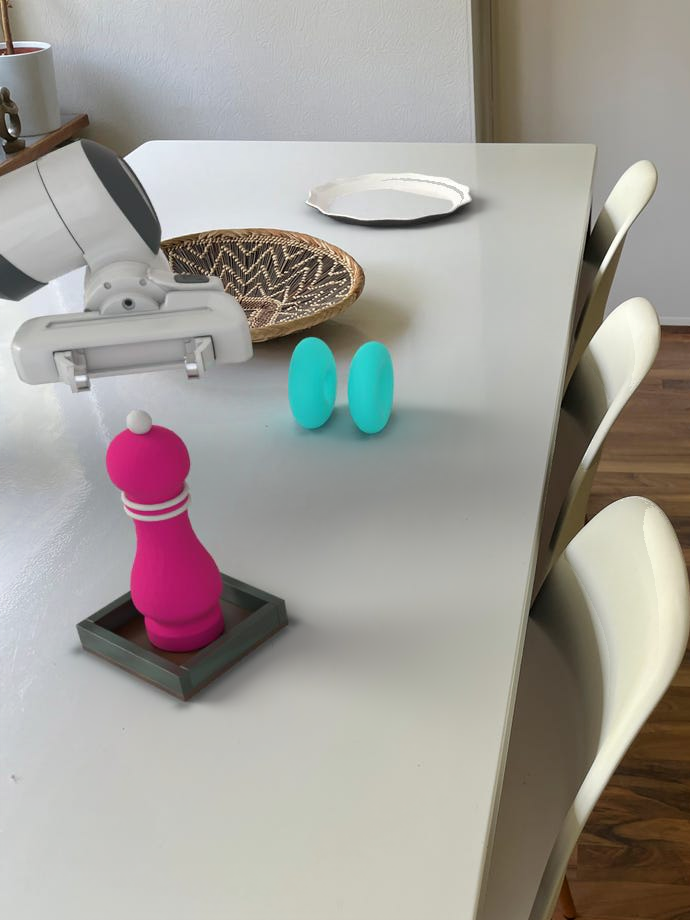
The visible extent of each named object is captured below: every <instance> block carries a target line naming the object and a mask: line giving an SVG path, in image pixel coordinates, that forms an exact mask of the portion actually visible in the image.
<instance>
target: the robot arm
mask: <svg viewBox="0 0 690 920" xmlns="http://www.w3.org/2000/svg"><path fill="white" fill-rule="evenodd" d="M162 234H163V233H162V226H161V222H160V220H159V217H158V214H157V211H156V209H155V208H154V205H153V202H152V200H151V198H150V197H149V194H148V193H147V191H146V189H145V187H144V186H143V184H142V182H141V181H140V179H139V177H138V176H137V174H136V172H135V171H134V170H133V168H132V167H131V166H130V164H129V163H128V162H127V161H126V160H125V159H124V158H123V157H122V156H121V154H119V153H117V152H115V151H113V150H112V149H111V148H109V147H107V146H105V145H103V144H101V143H98V142H96V141H93V140H91V139H86V138H80V140H77V141H74V142H72V143H69V144H67V145H65V146H63V147H60V148H58V149H56V150H54V151H51V152H49V153H47V154H44V155H42V156H40V157H37V159H36V160H34V161H31V162H30V163H28V164H25V165H23V166H21V167H18V168H16V169H15V170H12V171H10V172H8V173H5V174H3V175H1V176H0V299H1V300H6V301H11V302H20V301H22V300H24V299H25V298H28V297H29V296H31V295H32V294H34V293H35V292H37V291H39V290H41V289H43V288H45V287H46V286H47V285H49V283H50V282H52V281H54V280H56V279H59V278H61V277H63V276H65V275H67V274H70V273H72V272H75V271H77V270H78V269H81V268H83V267H85V269H84V277H83V290H84V293H83V302H82V303H83V304H82V305H83V309H82V311H81V312H71V313H61V314H50V315H43V316H42V315H41V316H36V317H31V318H30V319H27V320H25V321H24V322H23V323H22V324H21V325H20V326H19V327H18V329H17V331H16V332H15V333H14V335H13V338H12V340H11V342H10V343H11V344H10V352H11V357H12V360H13V364H14V367H15V370H16V373H17V376H18V379H19V380H20V381H21V382H23V383H25V384H27V385H30V386H38V385H45V384H46V385H48V384H55V383H63V384H65V385H68V386H69V387H70V390H71V393H72V394H78V393H82V392H83V393H85V392H91V390H92V389H91V387H92V384H91V383H92V382H91V380H92V379H93V380H94V379H100V378H101V379H102V378H109V377H117V376H118V377H119V376H127V375H135V374H137V375H138V374H145V373H157V372H165V371H175V370H183V369H185V370H186V376H187V380H188V381H190V380H200V379H206V374H205V372H206V371H208V370H209V369H211V368H212V367H214V366H217V365H226V364H227V365H229V364H236V363H244V362H246V361H248V360H250V359H251V358H252V357H253V355H254V351H253V341H252V336H251V335H252V334H251V329H250V323H249V319H248V317H247V315H246V313H245V310H244V309H243V307H242V306H241V304H240V302H239V301H238V300H237V299H236V298H235V296H233V295H232V294H230V293H228V292H226V291H225V287H224V284H223V281H222V279H221V278H220V277H219V276H215V275H204V274H190V273H189V274H187V273H178V272H173V269H172V266H171V264H170V262H169V260H168V258H167V256H166V254H165V253H164V251H163V250H162V248H161V242H162Z"/></svg>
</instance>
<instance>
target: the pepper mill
mask: <svg viewBox="0 0 690 920" xmlns="http://www.w3.org/2000/svg"><path fill="white" fill-rule="evenodd" d="M125 422H126V426H127V428H125V429H124V430H122V431H121V432H120V433H118V434H117V435H116V436H114V437H113V439H112V440H111V441H110V443H109V444H108V446H107V449H106V453H105V454H106V455H105V467H106V472H107V474H108V477H109V480H110V481H111V482H112V484H113V485H114V486H115V487H117V489H118V490H120V491H121V493H120V499H121V501H122V503H123V510H124V512H125V514H126V515H127V516H128V517H130V518H131V519H132V521H133V524H134V527H135V535H136V550H135V555H134V560H133V563H132V567H131V571H130V582H129V584H130V585H129V589H130V590H131V595H132V600H133V603H134V605H135V607H136V608H137V609H138V611H139V612H140V613H142V614H143V615H144V616H145V625H146V629H147V633H148V637H149V640H150V641H151V642H152V643H153V644H154V645H155V646H156V647H158V648H160V649H162V650H166V651H171V652H187V651H193V650H196V649H199V648H202V647H204V646H206V645H208V644H210V643H212V642H213V641H214V640H215V639H217V638H218V637H219V635H220V634H221V632H222V630H223V628H224V619H223V614H222V609H221V605H220V603H219V602H218V600H219V599H220V596H221V594H222V591H223V583H222V578H221V575H220V572H221V571H220V569H219V567H218V565H217V563H216V561H215V559H214V558H213V556H212V555H211V553H210V552H209V551H208V550H207V549H206V547H205V546H204V545H203V544H202V542H201V541H200V539H199V538H198V537H197V534H196V533H195V531H194V529H193V526H192V523H191V519H190V517H189V512H188V511H189V510H188V508H189V507H190V506H191V503H192V496H191V494H190V486H189V483H188V482H187V481H186V479H187V478H188V477H189V473H190V470H191V458H190V453H189V451H188V447H187V445H186V444H185V442H184V440H183V439H182V438H181V437H180V436H179V435H178V434H177V433H176V432H174V430H171V429H169V428H168V427H165V426H161V425H158V424H153V420H152V416H151V415H150V414H149V413H148V412H147V411H145V410H143V409H134V410H132V411H130V412H129V413H128V414H127V417H126V420H125Z"/></svg>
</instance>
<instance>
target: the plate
mask: <svg viewBox="0 0 690 920" xmlns="http://www.w3.org/2000/svg"><path fill="white" fill-rule="evenodd" d="M392 178H394V179H395V178H397V179H400V178H405V179H406V178H411V179H420V180H429V181H435V182H441V183H445V184H447V185H451V186H454V187H456V188H457V189H459V190H460V191H462V192H463V194H464V195H463V196H464V199H463V200H462V198H461V196H460V194H459V193H457V192H456V191H454V190H453V189H450V188H447V187H445V186H442V185H437V184H432V183H427V182H418V181H403V180H387V181H381V180H386V179H392ZM388 189H389V190H394V191H398V192H399V191H400V192H403V193H404V192H405V193H408V194H415V195H420V196H426V197H430V198H436V199H441V200H445V201H446V200H447V201H451V204H452V207H451V209H449V210H447V211H441V212H433V213H426V214H423V215H419V216H415V217H407V218H405V217H403V218H402V217H378V218H363V217H356V216H352V215H348V214H339V213H331V212H329V209H328V206H329V205H330V204H331V202H333V201H335V200H336V199H338V198H341V197H343V196H346V195H349V194H355V193H359V192H365V191H373V190H388ZM471 191H472V189H471V188H470V187H469V186H467V185H464V184H461V183H458V182H456V181H455V180H452V179H451V178H449V177H445V176H444V177H443V176H434V175H426V174H422V173H416V172H415V173H414V172H399V173H397V172H396V173H377V172H376V173H367V174H362V175H355V176H351V177H342V178H341V177H340V178H336V179H333V180H330V181H329V182H327V183H325V184H323V185H319V186H317V187H314V188H311V189H310V190H309V191H308V193H309V196H308V198H307V199H306V201H305V204H306V205H307V206H309V207H311V208H312V209H313V208H314V209H315V210H318V211H319V212H320V213H321V214H322V215H324V216H325V217H326V216H327V217H328V218H331V219H333V220H335V221H338V222H341V223H345V224H350V225H356V226H364V227H365V226H366V227H385V228H386V227H387V228H388V227H390V228H391V227H406V226H413V225H421V224H426V223H430V222H435V221H438V220H441V219H443V218H447V217H448V216H450V215H452V214H454V213H455V212H457V211H458V210H461V209H462V208H464V207H465V206H467V205H470V204H471V203H472V202H473V199H472V198H473V197H472V196H471V195H470V194H471ZM461 200H462V202H461ZM460 202H461V203H460ZM461 207H462V208H461Z"/></svg>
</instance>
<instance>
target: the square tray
mask: <svg viewBox="0 0 690 920" xmlns="http://www.w3.org/2000/svg"><path fill="white" fill-rule="evenodd" d="M219 572H220V575H221V578H222V583H223V591H222V594H221V596H220V599H219V600H218V602H219V603H220V605H221V609H222V614H223V619H224V628H223V630H222V632H221V634H220V635H219V637H218V638H217V639H215V640H214V641H213V642H212V643H210V644H208V645H206V646H204V647H202V648H199V649H196V650H193V651H187V652H171V651H166V650H162V649H160V648H158V647H156V646H155V645H154V644H153V643H152V642H151V641H150V640H149V637H148V633H147V629H146V625H145V616H144V615H143V614H142V613H140V612H139V611H138V609H137V608H136V607H135V605H134V603H133V600H132V595H131V589H130V590H129V591H127V592H125V593H124V594H122V595H121V596H119V597H117V598H116V599H114V600H113V601H111V602H109V603H108V604H106V605H105V606H103V607H102V608H100V609H99V610H97V611H96V612H94V613H92V614H91V615H89V616H87V617H86V618H84V619H82V620H81V621H80V622H78V623H75V628H76V631H77V634H78V637H79V640H80V644H81V647H82V649H83V650H84V651H86V652H88V653H90V654H92V655H94V656H95V657H98V658H99V659H101V660H103V661H105V662H107V663H109V664H111V665H112V666H115V667H116V668H118V669H120V670H123V671H124V672H126V673H128V674H130V675H132V676H134V677H136V678H138V679H139V680H141V681H143V682H145V683H147V684H149V685H151V686H153V687H154V688H156V689H159V690H161V691H163V692H164V693H167V694H169V695H170V696H172V697H174V698H176V699H177V700H180V701H182V702H184V703H186V702H188V701H189V700H190V699H192V697H194V696H195V695H197V694H198V693H199V692H200V691H202V690H203V689H204V688H206V687H207V686H208V685H210V684H211V683H213V681H215V680H217V678H219V677H220V676H222V675H223V674H224V673H226V672H227V671H228V670H230V669H231V668H232V667H233V666H235V665H236V664H238V663H239V662H241V661H242V660H243V659H244V658H245V657H247V656H248V655H250V654H251V653H252V652H254V651H255V650H257V649H258V648H259V647H260V646H261V645H263V644H264V643H265V642H267V641H268V640H269V639H271V638H272V637H273V636H275V635H276V634H277V633H279V632H280V631H281V630H283V629H284V628H285V627H286V626H288V625H289V619H288V612H287V606H286V605H287V604H286V600H285V599H284V598H281V597H279V596H276V595H274V594H272V593H269V592H267V591H266V590H262V589H260V588H258V587H255V586H253V585H251V584H249V583H247V582H245V581H242V580H240V579H237V578H235V577H233V576H230V575H228V574H225V573H223V572H221V571H219Z"/></svg>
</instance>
